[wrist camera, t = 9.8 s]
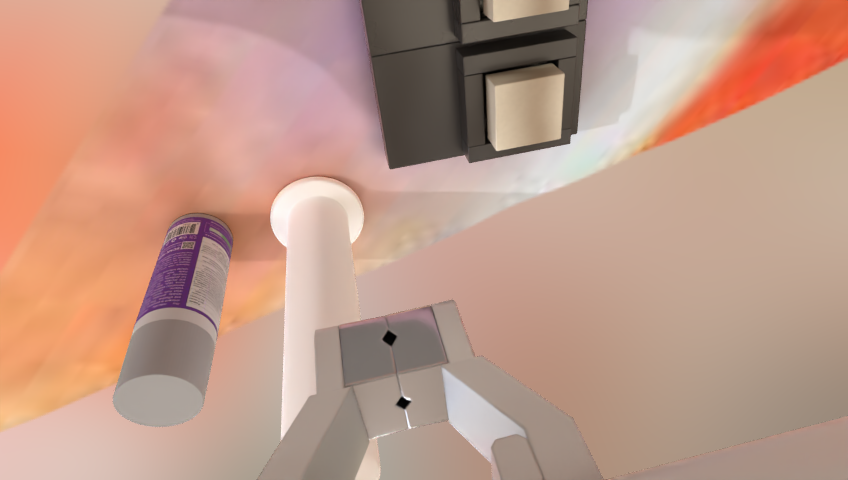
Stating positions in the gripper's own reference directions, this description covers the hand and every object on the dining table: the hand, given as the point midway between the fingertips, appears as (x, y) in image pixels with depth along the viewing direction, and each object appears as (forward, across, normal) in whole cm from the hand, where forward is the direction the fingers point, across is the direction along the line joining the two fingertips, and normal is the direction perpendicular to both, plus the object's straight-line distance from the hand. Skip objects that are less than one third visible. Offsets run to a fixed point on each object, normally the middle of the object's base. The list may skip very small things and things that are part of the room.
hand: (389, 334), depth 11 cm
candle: (+27, +4, +14) cm, 31 cm away
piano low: (+27, -9, +6) cm, 29 cm away
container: (+27, +13, +14) cm, 33 cm away
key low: (+23, -11, +6) cm, 26 cm away
